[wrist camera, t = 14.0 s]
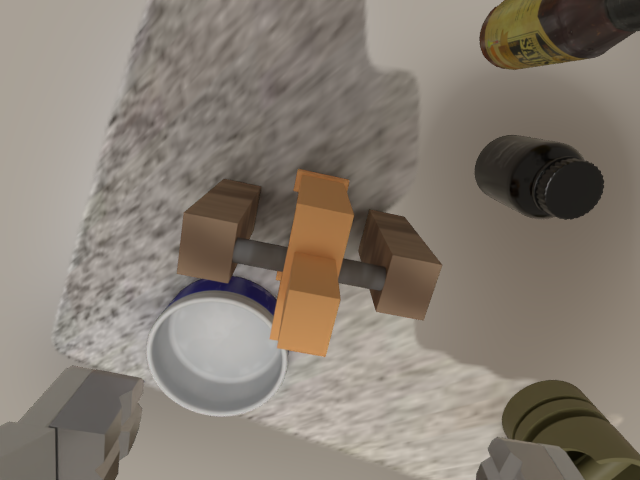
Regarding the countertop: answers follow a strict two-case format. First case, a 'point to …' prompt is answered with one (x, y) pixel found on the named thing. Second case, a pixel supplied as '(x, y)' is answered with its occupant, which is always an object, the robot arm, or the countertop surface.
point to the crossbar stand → (235, 247)
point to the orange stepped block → (313, 264)
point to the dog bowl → (217, 348)
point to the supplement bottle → (538, 177)
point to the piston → (571, 430)
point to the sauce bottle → (555, 30)
